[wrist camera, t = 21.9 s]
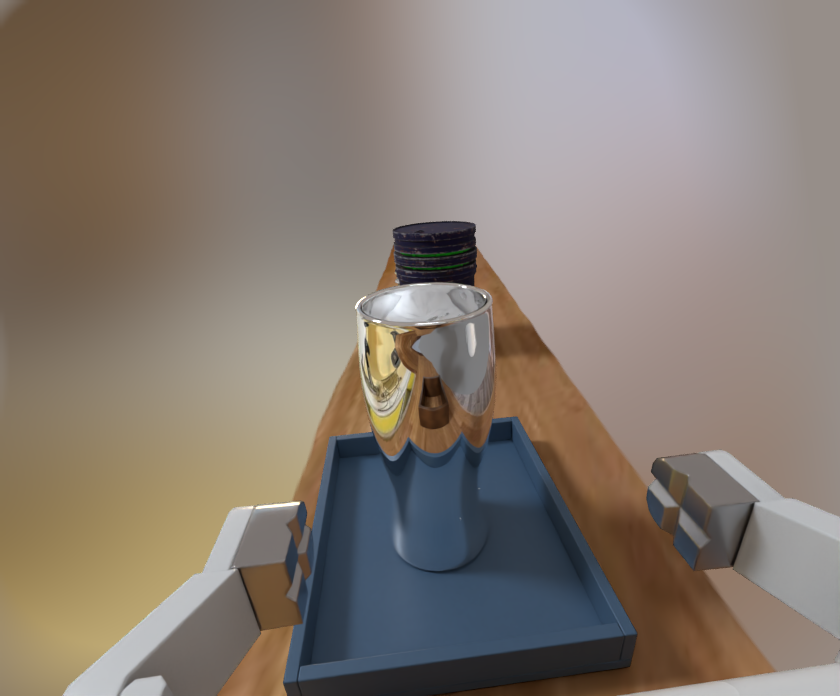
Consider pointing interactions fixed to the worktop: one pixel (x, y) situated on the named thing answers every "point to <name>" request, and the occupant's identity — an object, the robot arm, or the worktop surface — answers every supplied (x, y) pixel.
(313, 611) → the tray
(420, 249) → the navy layered cylinder
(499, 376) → the worktop surface
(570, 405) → the worktop surface
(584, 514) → the worktop surface
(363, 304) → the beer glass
